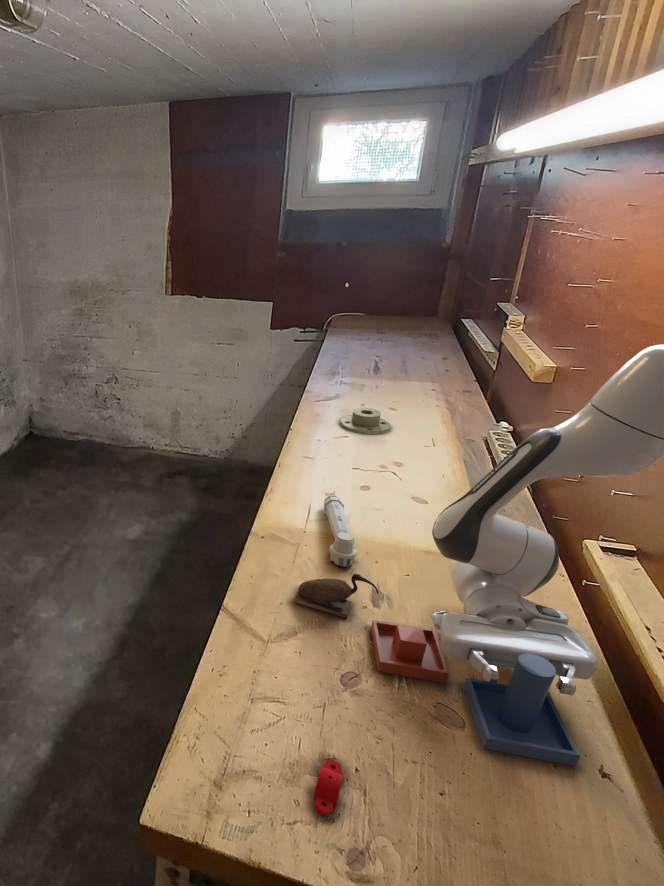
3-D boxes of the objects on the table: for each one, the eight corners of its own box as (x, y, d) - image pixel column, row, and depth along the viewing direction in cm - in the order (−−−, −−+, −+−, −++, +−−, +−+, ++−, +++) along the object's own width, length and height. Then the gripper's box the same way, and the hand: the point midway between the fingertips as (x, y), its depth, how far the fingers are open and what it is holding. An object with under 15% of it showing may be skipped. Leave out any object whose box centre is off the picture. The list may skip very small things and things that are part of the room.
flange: (384, 404, 189) (338, 404, 191) (397, 421, 176) (348, 420, 178) (382, 417, 192) (336, 416, 193) (395, 434, 178) (346, 433, 180)
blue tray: (544, 700, 86) (548, 691, 85) (575, 766, 76) (580, 755, 75) (462, 687, 89) (466, 677, 88) (483, 748, 79) (487, 738, 78)
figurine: (374, 611, 105) (382, 573, 101) (371, 626, 102) (379, 588, 98) (299, 589, 111) (304, 553, 108) (293, 602, 108) (298, 565, 104)
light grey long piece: (344, 495, 137) (361, 539, 113) (341, 520, 139) (357, 568, 116) (322, 493, 138) (334, 536, 115) (319, 518, 140) (330, 565, 117)
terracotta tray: (432, 638, 98) (435, 629, 98) (446, 682, 90) (449, 673, 89) (370, 628, 101) (372, 619, 100) (377, 671, 92) (380, 661, 91)
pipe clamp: (333, 819, 71) (335, 808, 70) (310, 809, 72) (312, 798, 71) (344, 767, 77) (346, 757, 76) (323, 759, 78) (325, 748, 77)
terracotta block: (417, 645, 96) (422, 627, 95) (422, 662, 93) (427, 644, 91) (392, 641, 97) (396, 623, 96) (396, 658, 94) (400, 640, 92)
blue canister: (526, 711, 84) (548, 656, 79) (537, 736, 80) (561, 680, 75) (493, 705, 85) (513, 650, 80) (502, 729, 81) (524, 673, 76)
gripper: (433, 595, 92) (453, 655, 80) (577, 614, 87) (622, 682, 75) (425, 624, 95) (444, 687, 83) (564, 644, 90) (606, 714, 78)
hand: (530, 685), depth 79 cm, fingers open, 8 cm apart
